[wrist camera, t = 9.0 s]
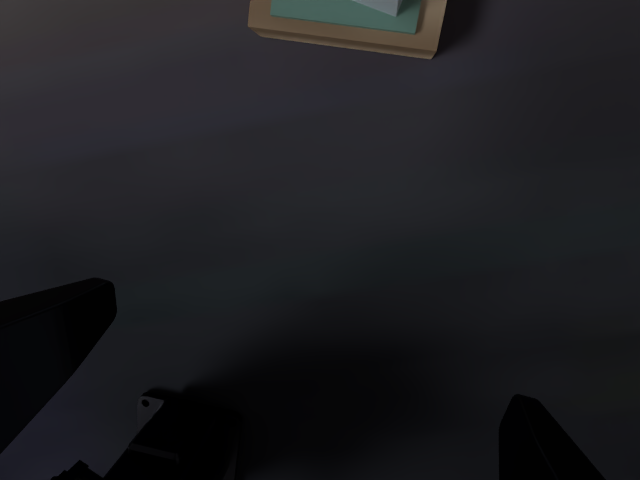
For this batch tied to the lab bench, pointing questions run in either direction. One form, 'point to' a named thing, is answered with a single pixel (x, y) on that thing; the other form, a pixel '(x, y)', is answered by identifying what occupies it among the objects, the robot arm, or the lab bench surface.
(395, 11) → the grey tapered block
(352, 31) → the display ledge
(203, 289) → the lab bench surface
